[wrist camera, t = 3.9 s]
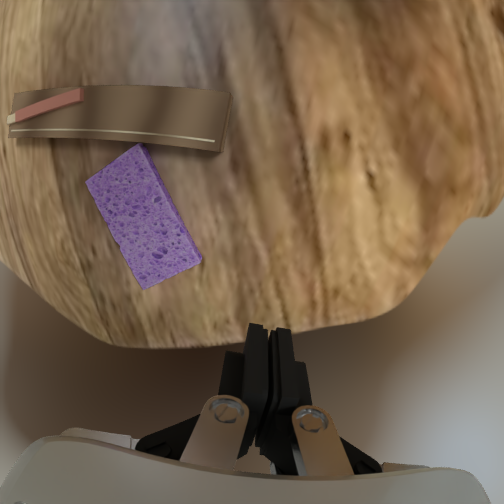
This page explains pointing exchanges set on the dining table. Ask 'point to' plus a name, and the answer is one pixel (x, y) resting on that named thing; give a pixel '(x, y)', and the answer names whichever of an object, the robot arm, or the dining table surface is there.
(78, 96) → the carpenters pencil
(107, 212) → the sponges
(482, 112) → the dining table surface
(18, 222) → the dining table surface
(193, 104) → the walnut board
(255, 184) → the dining table surface
